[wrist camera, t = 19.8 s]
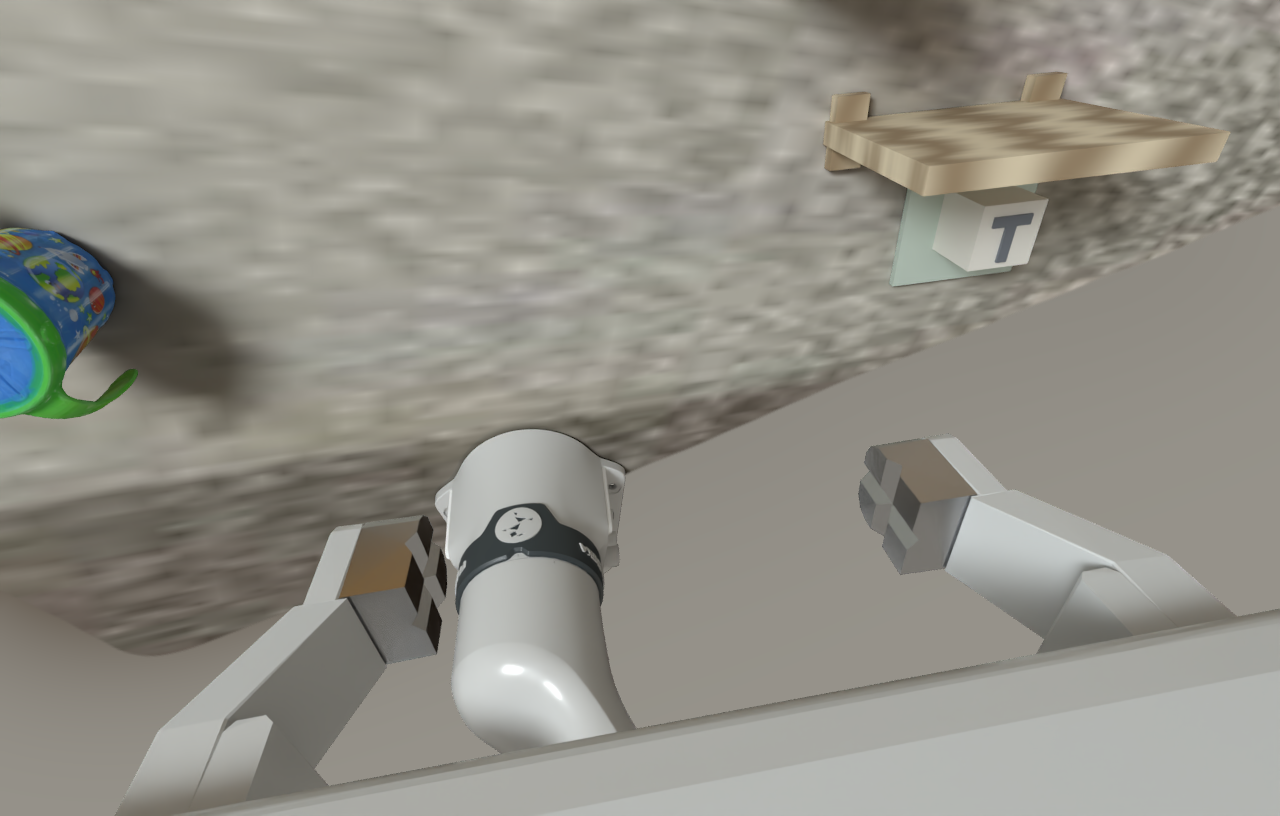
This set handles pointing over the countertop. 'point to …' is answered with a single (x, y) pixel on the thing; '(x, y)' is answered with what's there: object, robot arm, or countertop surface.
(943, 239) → the letter cube
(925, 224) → the pad
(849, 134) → the screen
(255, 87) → the countertop surface
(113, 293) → the snack cup
